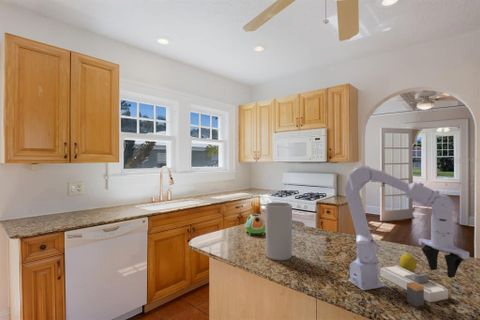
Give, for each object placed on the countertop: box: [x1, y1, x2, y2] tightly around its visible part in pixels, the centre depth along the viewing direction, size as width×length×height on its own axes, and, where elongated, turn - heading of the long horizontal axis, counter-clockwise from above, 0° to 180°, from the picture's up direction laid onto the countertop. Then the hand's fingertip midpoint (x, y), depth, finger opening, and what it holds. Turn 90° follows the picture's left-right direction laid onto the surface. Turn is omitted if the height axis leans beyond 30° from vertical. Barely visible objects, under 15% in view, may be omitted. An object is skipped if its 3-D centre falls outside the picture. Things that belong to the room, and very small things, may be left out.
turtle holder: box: [245, 213, 266, 237], centre depth 164 cm, size 12×18×12 cm
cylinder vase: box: [265, 201, 293, 261], centre depth 124 cm, size 12×12×25 cm
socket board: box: [379, 264, 449, 303], centre depth 94 cm, size 20×8×4 cm, turn 16°
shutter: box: [404, 273, 430, 284], centre depth 92 cm, size 5×5×3 cm
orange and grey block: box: [406, 282, 425, 307], centre depth 83 cm, size 3×3×6 cm
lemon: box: [399, 252, 417, 272], centre depth 105 cm, size 6×6×8 cm
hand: (442, 273), depth 83 cm, fingers open, 5 cm apart
